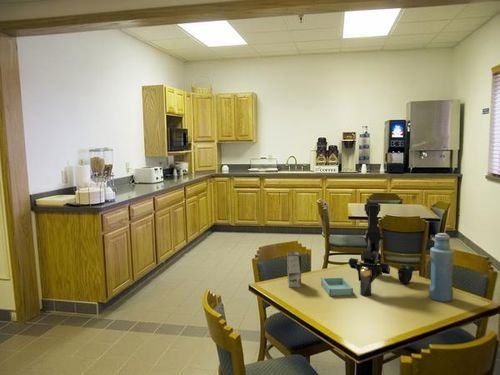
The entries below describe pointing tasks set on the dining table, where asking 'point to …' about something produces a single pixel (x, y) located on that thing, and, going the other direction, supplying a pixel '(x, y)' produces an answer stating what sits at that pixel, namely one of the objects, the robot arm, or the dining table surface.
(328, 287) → the tray
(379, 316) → the dining table surface
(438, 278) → the bottle
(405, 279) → the controller
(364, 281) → the cylinder
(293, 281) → the coffee box
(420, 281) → the dining table surface
